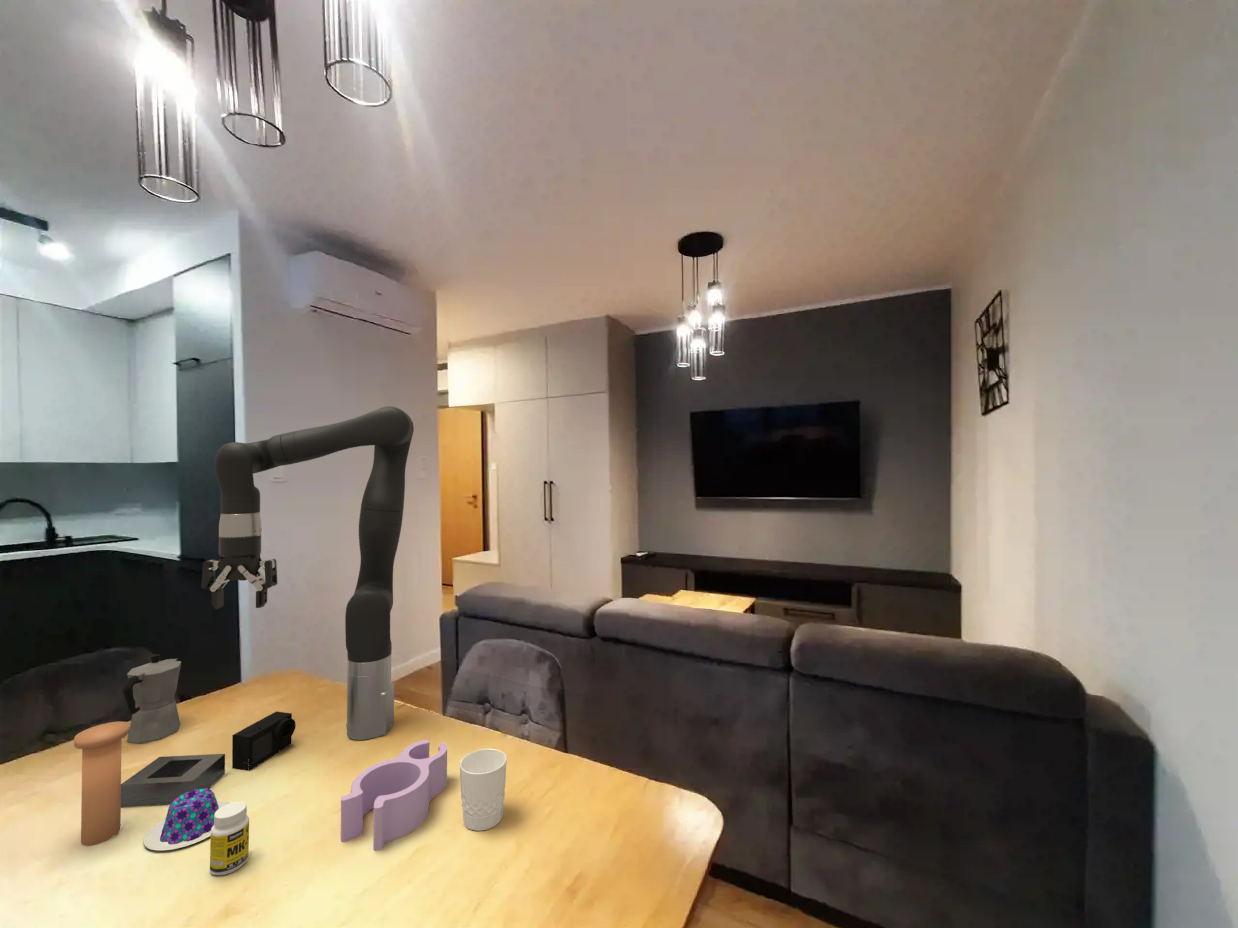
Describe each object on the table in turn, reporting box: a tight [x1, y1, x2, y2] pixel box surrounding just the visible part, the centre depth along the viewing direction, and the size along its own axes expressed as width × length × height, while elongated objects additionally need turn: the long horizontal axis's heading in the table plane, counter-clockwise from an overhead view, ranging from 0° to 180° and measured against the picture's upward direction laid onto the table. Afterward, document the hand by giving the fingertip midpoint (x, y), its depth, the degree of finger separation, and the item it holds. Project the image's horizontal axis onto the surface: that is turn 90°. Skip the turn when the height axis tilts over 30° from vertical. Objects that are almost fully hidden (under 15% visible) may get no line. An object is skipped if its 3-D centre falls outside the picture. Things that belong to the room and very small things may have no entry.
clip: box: [340, 739, 448, 852], centre depth 93 cm, size 20×12×7 cm, turn 163°
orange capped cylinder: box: [73, 721, 130, 847], centre depth 85 cm, size 6×6×17 cm
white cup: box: [459, 747, 508, 832], centre depth 90 cm, size 8×8×10 cm
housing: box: [121, 753, 226, 808], centre depth 97 cm, size 12×9×4 cm
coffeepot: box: [122, 653, 182, 745], centre depth 117 cm, size 15×9×18 cm, turn 9°
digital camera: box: [231, 711, 297, 772], centre depth 109 cm, size 10×5×7 cm, turn 168°
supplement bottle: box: [209, 801, 250, 876], centre depth 79 cm, size 5×5×8 cm
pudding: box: [143, 788, 230, 851], centre depth 87 cm, size 12×12×5 cm
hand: (239, 607), depth 113 cm, fingers open, 8 cm apart
